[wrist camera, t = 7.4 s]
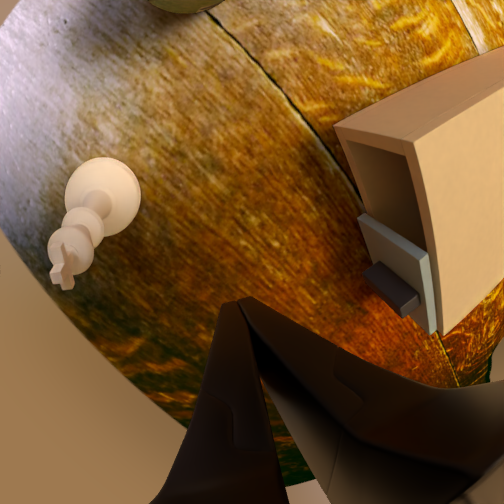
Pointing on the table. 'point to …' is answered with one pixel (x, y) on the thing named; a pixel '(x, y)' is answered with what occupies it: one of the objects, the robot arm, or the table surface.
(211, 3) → the beverage can
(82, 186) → the chess piece
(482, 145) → the box
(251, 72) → the table surface
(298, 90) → the table surface
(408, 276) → the closet door
